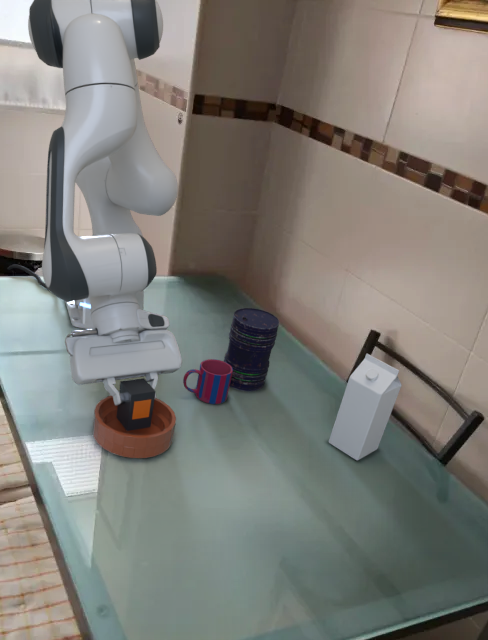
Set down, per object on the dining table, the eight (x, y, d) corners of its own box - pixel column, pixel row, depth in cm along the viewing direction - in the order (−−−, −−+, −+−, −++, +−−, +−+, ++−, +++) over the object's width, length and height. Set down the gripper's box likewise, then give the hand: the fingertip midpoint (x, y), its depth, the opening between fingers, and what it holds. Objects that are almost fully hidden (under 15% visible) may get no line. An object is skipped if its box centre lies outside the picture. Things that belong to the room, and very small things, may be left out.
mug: (230, 404, 134) (236, 375, 130) (183, 404, 131) (188, 374, 127) (222, 387, 139) (227, 359, 136) (176, 386, 136) (181, 358, 133)
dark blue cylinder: (252, 367, 149) (266, 307, 141) (272, 390, 142) (288, 327, 134) (213, 369, 145) (225, 308, 137) (231, 393, 138) (245, 329, 130)
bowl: (81, 420, 120) (83, 397, 118) (152, 410, 127) (155, 388, 125) (109, 467, 110) (112, 443, 108) (185, 453, 117) (189, 430, 115)
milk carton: (348, 432, 133) (376, 349, 123) (377, 450, 129) (409, 366, 119) (327, 442, 128) (355, 357, 118) (357, 461, 124) (388, 375, 114)
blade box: (116, 417, 117) (120, 381, 113) (139, 413, 120) (144, 378, 116) (127, 431, 114) (131, 395, 110) (150, 427, 116) (155, 391, 112)
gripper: (68, 325, 108) (85, 406, 107) (176, 316, 118) (193, 390, 117) (57, 337, 113) (74, 414, 112) (161, 328, 124) (178, 398, 122)
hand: (136, 402), depth 115 cm, fingers closed on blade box, 4 cm apart
